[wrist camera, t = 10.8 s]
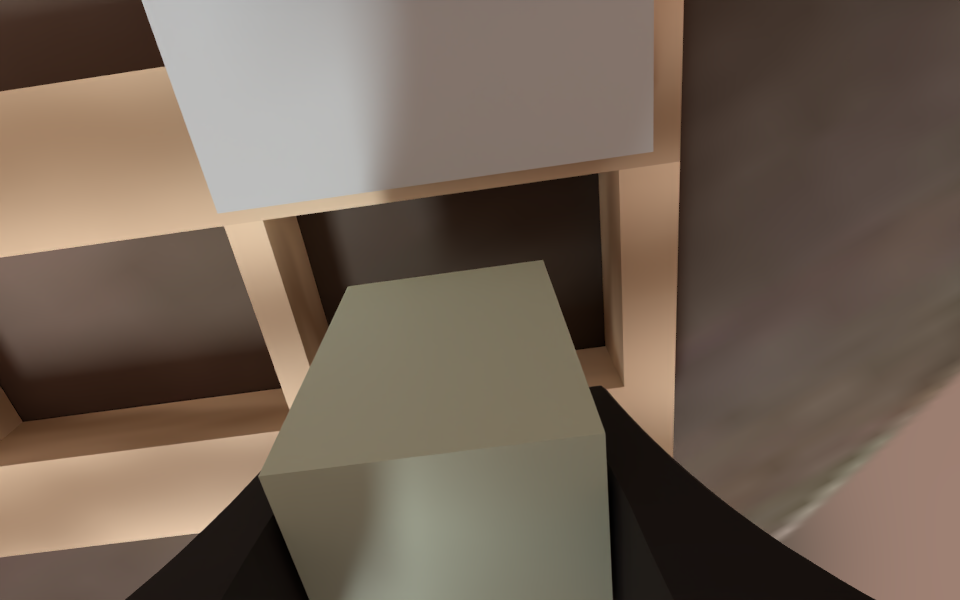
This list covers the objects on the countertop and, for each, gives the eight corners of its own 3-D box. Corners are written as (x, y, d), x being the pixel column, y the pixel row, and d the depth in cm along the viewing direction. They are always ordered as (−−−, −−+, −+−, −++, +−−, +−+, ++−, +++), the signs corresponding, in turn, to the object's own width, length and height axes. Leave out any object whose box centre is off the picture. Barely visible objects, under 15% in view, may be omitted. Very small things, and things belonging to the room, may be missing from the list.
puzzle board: (649, 428, 20) (672, 475, 18) (33, 504, 21) (-17, 559, 19) (649, -236, 12) (691, -298, 10) (-351, -70, 13) (-518, -92, 11)
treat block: (557, 418, 14) (614, 651, 9) (388, 439, 14) (343, 681, 9) (543, 259, 12) (605, 432, 7) (347, 286, 12) (258, 476, 7)
